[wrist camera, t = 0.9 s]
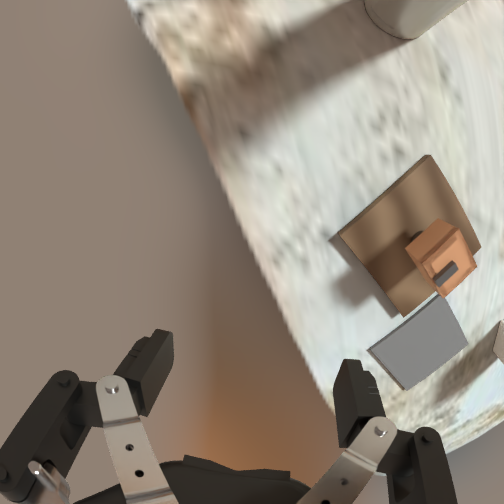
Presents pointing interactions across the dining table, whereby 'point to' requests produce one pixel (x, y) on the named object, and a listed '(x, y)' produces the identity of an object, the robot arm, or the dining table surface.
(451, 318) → the mat
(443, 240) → the tan cube with tab
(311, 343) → the dining table surface
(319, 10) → the dining table surface
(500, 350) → the milk carton
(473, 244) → the brown board
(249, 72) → the dining table surface
